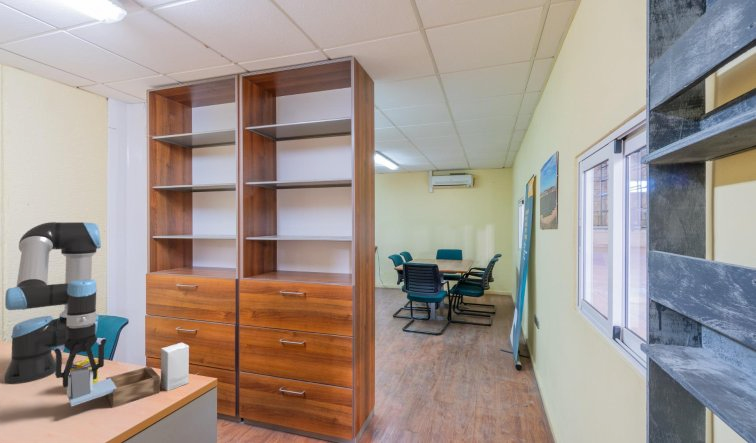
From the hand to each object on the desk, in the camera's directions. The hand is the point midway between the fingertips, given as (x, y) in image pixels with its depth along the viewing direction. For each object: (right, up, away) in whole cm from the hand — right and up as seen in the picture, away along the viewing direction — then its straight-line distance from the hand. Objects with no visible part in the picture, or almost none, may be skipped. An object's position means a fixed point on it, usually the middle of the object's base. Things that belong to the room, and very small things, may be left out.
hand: (79, 392), depth 113 cm
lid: (+2, -2, +2) cm, 4 cm away
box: (+10, -6, +11) cm, 16 cm away
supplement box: (-11, -6, +14) cm, 18 cm away
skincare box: (+21, -7, +18) cm, 29 cm away
